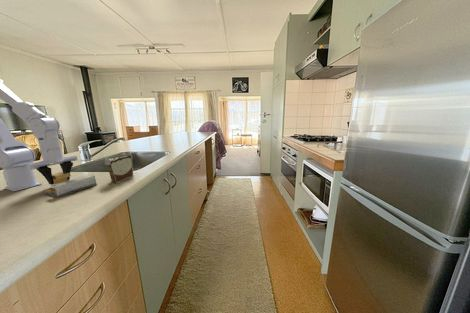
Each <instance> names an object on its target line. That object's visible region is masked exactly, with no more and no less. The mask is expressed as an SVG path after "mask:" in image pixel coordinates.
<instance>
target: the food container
mask: <svg viewBox="0 0 470 313" xmlns="http://www.w3.org/2000/svg"><path fill="white" fill-rule="evenodd" d="M133 158H134V157H133V154H132V153H123V154H117V155H112V156H108V157H106V158H104V163H103V164H104V165H105V166H106V167H107V170H108V173H109V176H110V180H111V182H112V183H113V184H117V183H120V182H122V180H123V181H124V180H127V179H129V178H131V176H132V177H133V176H134V168H133V166H134V165H133Z"/></svg>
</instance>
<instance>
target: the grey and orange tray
mask: <svg viewBox="0 0 470 313" xmlns="http://www.w3.org/2000/svg"><path fill="white" fill-rule="evenodd" d="M97 185H98V184H97V179H96V175H94V174H93V175H91V174H87V175H84V176H81V177H77V178H72V179H70V180H69V181H66V182H62V183H59V184H55V185H51V184H50V187H51V188H50V189H46V190H43V194H44V195H48V196H52V197H55V198H62V197H65V196H68V195H71V194H74V193H78V192H80V191H83V190H86V189H89V188H92V187H94V186H97Z"/></svg>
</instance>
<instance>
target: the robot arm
mask: <svg viewBox="0 0 470 313" xmlns="http://www.w3.org/2000/svg"><path fill="white" fill-rule="evenodd" d="M0 100H2V102H5V103H7V105H9V106H10V107H11V111H12V113H13V114H16V115H17V116H18V117H19V118H20V119H21V120H23V121H24V122H26V123H27V124H28V128H29V130H30V131H31V132H32V133H33V135H34V137H35V138H36V139H37V143H38V146H39V149H40V154H41V156H42V160H41V161H38V162H37V161H36V162H34V160H35V158H36V153H35V151H34V150H33V149H32V148H31V147H29V146H28V144H27V143H25V142H24V141H21V140H17V139H16V138H15V137H14V135H13V134H12V132H11V131H10V130H9V128H8V127H7V125H6V124H5V122H4V120H2V118H1V117H0V169H3V171H2V174H3V175H2V176H3V178H4V180H5V184H6V186H4V187H3V189H5V190H8V191H12V192H17V191H21V190H25V189H28V188H32V187H33V188H34V187H35V186H40V185H42V184H43V183H42V182H39V181H37V178H36V175H35V171H34V170H37V172H39V174H41V175H42V176H43V177H44V178H45V180H46V181H47V183H48V184H49V185H50V186H51V185H52V184H54V181H53V178H52V174H53V173H52V167H51V166H55V165H59V166H60V168H61V170H62V171H61V172H69V173H70V174H71V170H72V168H73V166H74V162H75V161H76V162H77V161H78V160H79V159H78V155H71V156H64V154H63V151H62V146H61V142H60V138H59V135H58V131H59V130H60V127H61V126H60V125H61V124H60V123H59V121H58V120H57V119H56V117H53V116H48V115H46V114H45V113H44V112H42V111H40V109H38V108H37V107H36V106H35V104H34V103H32V102H28V101H23V100H22V99H20V98H19V96H17V95H16V94H15V93H14V92H13V91H12V90H10V89H9V88H8V87H7V86H6V85H5V82H4V80H3V79H1V78H0ZM67 179H68V180H71V176H70V177H67Z"/></svg>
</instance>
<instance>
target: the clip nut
mask: <svg viewBox="0 0 470 313" xmlns="http://www.w3.org/2000/svg"><path fill="white" fill-rule="evenodd" d="M67 177H70V178H71V177H72V175H71V172H70V173H69V172H63V171H61V172H56V173H52V178H53V181H54V184H52V185H55V184H59V183H62V182H66V181H69V180H68V179H67Z"/></svg>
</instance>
